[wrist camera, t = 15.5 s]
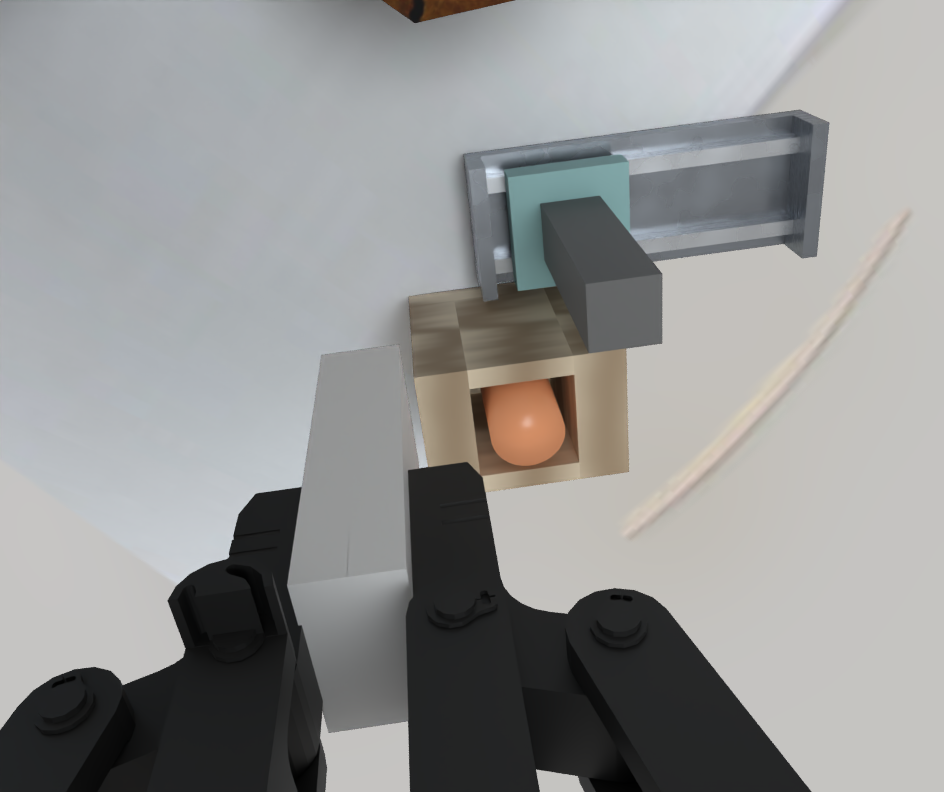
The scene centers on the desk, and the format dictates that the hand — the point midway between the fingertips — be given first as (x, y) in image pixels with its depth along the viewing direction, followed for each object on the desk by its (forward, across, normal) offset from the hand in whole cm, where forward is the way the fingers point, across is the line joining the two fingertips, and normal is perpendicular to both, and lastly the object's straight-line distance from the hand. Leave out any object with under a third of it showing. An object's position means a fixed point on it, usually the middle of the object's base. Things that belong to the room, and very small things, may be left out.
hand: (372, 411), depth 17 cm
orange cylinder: (+28, +5, -14) cm, 31 cm away
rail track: (+30, +13, -6) cm, 34 cm away
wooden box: (+30, +5, -14) cm, 34 cm away
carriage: (+28, +9, -6) cm, 30 cm away
